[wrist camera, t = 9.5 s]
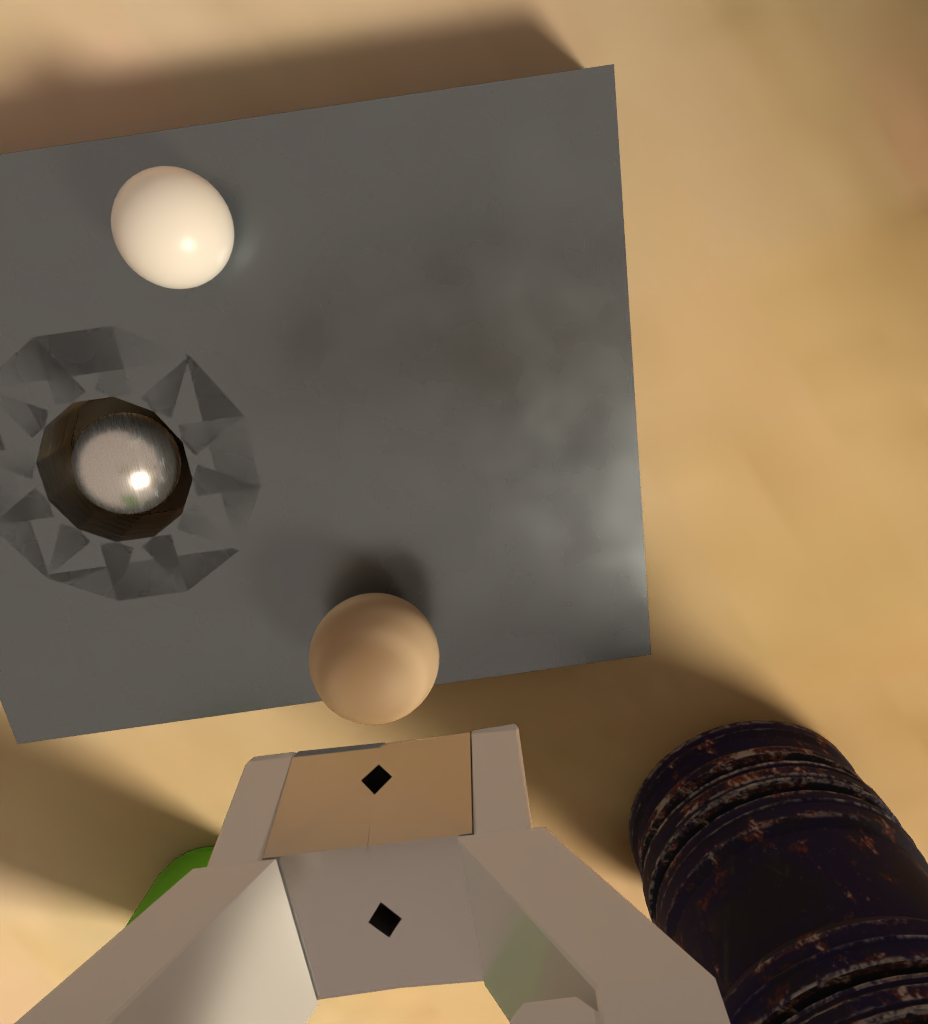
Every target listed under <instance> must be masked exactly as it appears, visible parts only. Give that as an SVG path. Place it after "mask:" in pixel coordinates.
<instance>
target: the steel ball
mask: <svg viewBox="0 0 928 1024" xmlns="http://www.w3.org/2000/svg"><path fill="white" fill-rule="evenodd" d="M71 466H72V473H73V476H74V479H75V482H76V484H77V486H78V487H79V489H80V490H81V492H82V493H83V494H84V495H85V496H86V497H87V498H88V499H89V500H90V501H91V502H92V503H94V504H95V505H97V506H99V507H101V508H103V509H105V510H108V511H111V512H114V513H120V514H135V513H141V512H144V511H148V510H150V509H152V508H155V507H156V506H158V505H159V504H161V503H162V502H163V501H165V500H166V499H167V498H168V497H169V496H170V495H171V493H172V492H173V490H174V489H175V487H176V485H177V483H178V480H179V478H180V473H181V456H180V451H179V448H178V446H177V444H176V442H175V440H174V438H173V437H172V435H171V434H170V433H169V432H168V431H167V429H166V428H164V427H163V426H162V425H161V424H159V423H158V422H157V421H155V420H153V419H151V418H149V417H146V416H144V415H140V414H136V413H128V412H127V413H114V414H110V415H106V416H104V417H101V418H99V419H97V420H96V421H94V422H92V423H91V424H90V425H88V426H87V427H86V428H85V429H84V430H83V432H82V433H81V434H80V435H79V437H78V439H77V441H76V443H75V445H74V448H73V452H72V458H71Z"/></svg>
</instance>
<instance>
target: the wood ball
mask: <svg viewBox="0 0 928 1024" xmlns="http://www.w3.org/2000/svg"><path fill="white" fill-rule="evenodd" d="M438 668H439V647H438V642H437V638H436V635H435V633H434V630H433V628H432V626H431V625H430V623H429V621H428V620H427V619H426V617H425V616H424V615H423V614H422V613H421V612H420V611H419V610H418V609H417V608H416V607H415V606H414V605H412V604H411V603H409V602H408V601H406V600H404V599H402V598H399V597H397V596H393V595H390V594H384V593H366V594H361V595H357V596H354V597H351V598H349V599H347V600H345V601H343V602H341V603H340V604H338V605H337V606H335V607H334V608H333V609H332V610H330V611H329V612H328V614H327V615H326V616H325V617H324V618H323V619H322V621H321V622H320V624H319V625H318V627H317V629H316V631H315V633H314V635H313V638H312V641H311V645H310V651H309V669H310V676H311V679H312V682H313V685H314V687H315V689H316V691H317V693H318V695H319V696H320V698H321V699H322V700H323V701H324V703H325V704H326V705H327V706H328V707H329V708H330V709H331V710H332V711H334V712H335V713H337V714H338V715H339V716H341V717H343V718H345V719H348V720H350V721H353V722H356V723H360V724H367V725H377V724H385V723H390V722H393V721H396V720H398V719H401V718H403V717H404V716H406V715H408V714H409V713H411V712H412V711H413V710H415V709H416V708H417V707H418V706H419V705H420V704H421V703H422V702H423V701H424V699H425V698H426V697H427V695H428V694H429V693H430V691H431V689H432V687H433V685H434V682H435V679H436V677H437V673H438Z"/></svg>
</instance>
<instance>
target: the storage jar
mask: <svg viewBox="0 0 928 1024" xmlns="http://www.w3.org/2000/svg"><path fill="white" fill-rule="evenodd" d="M629 839H630V844H631V848H632V852H633V855H634V858H635V861H636V864H637V866H638V868H639V870H640V874H641V879H642V883H643V892H644V896H645V901H646V905H647V908H648V911H649V914H650V917H651V920H652V922H653V923H654V924H655V925H656V926H657V927H658V928H659V929H660V930H662V931H663V932H664V933H665V934H666V935H667V936H668V937H669V938H671V939H672V940H673V941H674V942H675V943H676V944H677V945H678V946H680V947H681V948H682V949H683V950H684V951H685V952H686V953H687V954H689V955H690V956H691V957H692V958H693V959H694V960H695V961H696V962H698V963H699V964H700V965H701V966H702V967H703V968H704V969H705V970H707V971H708V972H709V973H710V974H711V975H712V976H713V977H714V978H715V979H716V982H717V985H718V988H719V991H720V994H721V997H722V1000H723V1003H724V1006H725V1009H726V1012H727V1015H728V1018H729V1021H730V1023H731V1024H928V864H927V862H926V860H925V858H924V857H923V855H922V854H921V852H920V851H919V850H918V849H917V847H916V845H915V843H914V841H913V840H912V838H911V837H910V836H909V835H908V834H907V832H906V831H905V830H904V829H903V828H902V826H901V824H900V823H899V821H898V819H897V818H896V817H895V816H894V814H893V813H892V812H891V810H890V809H889V808H888V807H887V806H886V804H885V803H884V802H883V800H882V799H881V798H880V797H879V796H878V795H877V794H876V792H875V791H874V790H873V789H872V788H871V787H869V786H868V785H867V784H865V783H864V782H863V780H862V779H861V778H860V777H859V776H858V775H857V774H856V772H855V771H854V769H853V767H852V766H851V764H850V763H849V762H848V761H847V759H846V758H845V757H844V756H843V755H842V754H841V752H840V751H839V750H838V749H837V748H836V747H835V746H834V745H833V744H831V743H830V742H829V741H827V740H826V739H825V738H824V737H822V736H820V735H818V734H816V733H814V732H812V731H810V730H808V729H805V728H802V727H799V726H796V725H793V724H788V723H782V722H776V721H749V722H740V723H734V724H730V725H726V726H722V727H718V728H715V729H713V730H710V731H707V732H705V733H702V734H700V735H698V736H696V737H694V738H692V739H690V740H689V741H687V742H685V743H683V744H682V745H680V746H679V747H678V748H676V749H675V750H673V751H672V752H671V753H669V754H668V755H667V756H666V757H665V758H664V759H663V760H662V761H661V762H660V763H659V764H657V765H656V766H655V768H654V769H653V770H652V771H651V773H650V774H649V775H648V777H647V778H646V779H645V780H644V782H643V784H642V786H641V788H640V789H639V791H638V793H637V795H636V798H635V800H634V803H633V806H632V809H631V815H630V821H629Z"/></svg>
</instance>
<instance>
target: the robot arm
mask: <svg viewBox="0 0 928 1024" xmlns="http://www.w3.org/2000/svg"><path fill="white" fill-rule="evenodd" d="M477 981H484V982H485V986H486V987H487V989H488V990H489V992H490V993H491V995H492V996H493V998H494V999H495V1001H496V1002H497V1004H498V1005H499V1007H500V1008H501V1010H502V1011H503V1013H504V1014H505V1016H506V1017H507V1019H508V1020H509V1022H510V1024H731V1023H730V1021H729V1018H728V1015H727V1012H726V1009H725V1006H724V1003H723V1000H722V997H721V994H720V991H719V988H718V985H717V982H716V979H715V978H714V977H713V976H712V975H711V974H710V973H709V972H708V971H707V970H705V969H704V968H703V967H702V966H701V965H700V964H699V963H698V962H696V961H695V960H694V959H693V958H692V957H691V956H690V955H689V954H687V953H686V952H685V951H684V950H683V949H682V948H681V947H680V946H678V945H677V944H676V943H675V942H674V941H673V940H672V939H671V938H669V937H668V936H667V935H666V934H665V933H664V932H663V931H662V930H660V929H659V928H658V927H657V926H656V925H655V924H654V923H653V922H651V921H650V920H649V919H648V918H647V917H646V916H645V915H644V914H642V913H641V912H640V911H639V910H638V909H637V908H636V907H634V906H633V905H632V904H631V903H630V902H629V901H628V900H627V899H625V898H624V897H623V896H622V895H621V894H620V893H619V892H618V891H616V890H615V889H614V888H613V887H612V886H611V885H610V884H609V883H607V882H606V881H605V880H604V879H603V878H602V877H601V876H600V875H598V874H597V873H596V872H595V871H594V870H593V869H592V868H591V867H589V866H588V865H587V864H586V863H585V862H584V861H583V860H582V859H580V858H579V857H578V856H577V855H576V854H575V853H574V852H573V851H571V850H570V849H569V848H568V847H567V846H566V845H565V844H564V843H562V842H561V841H560V840H559V839H558V838H557V837H556V836H554V835H553V834H552V833H551V832H550V831H549V830H548V829H547V828H545V827H537V828H532V821H531V814H530V806H529V799H528V792H527V785H526V778H525V771H524V764H523V756H522V749H521V742H520V735H519V728H518V727H517V725H516V724H510V725H503V726H497V727H491V728H484V729H478V730H473V731H472V732H467V733H459V734H452V735H445V736H437V737H430V738H422V739H415V740H407V741H400V742H392V743H386V744H385V743H376V744H366V745H357V746H347V747H337V748H327V749H318V750H308V751H299V752H298V753H294V752H290V753H282V754H274V755H266V756H258V757H254V758H252V759H251V760H250V761H249V762H248V763H247V764H246V765H245V768H244V770H243V773H242V776H241V778H240V781H239V783H238V786H237V789H236V791H235V794H234V797H233V799H232V802H231V804H230V807H229V810H228V812H227V815H226V818H225V820H224V823H223V825H222V828H221V831H220V833H219V836H218V839H217V841H216V844H215V846H214V849H213V852H212V854H211V857H210V860H209V862H208V865H207V867H203V868H196V869H192V870H191V871H190V872H189V873H188V874H186V875H185V876H184V877H183V878H182V879H181V880H179V881H178V882H177V883H176V884H175V885H174V886H173V887H171V888H170V889H169V890H168V891H167V892H166V893H164V894H163V895H162V896H161V897H160V898H159V899H158V900H156V901H155V902H154V903H153V904H152V905H151V906H149V907H148V908H147V909H146V910H145V911H144V912H143V913H141V914H140V915H139V916H138V917H137V918H136V919H134V920H133V921H132V922H131V923H130V924H129V925H128V926H126V927H125V928H124V929H123V930H122V931H121V932H119V933H118V934H117V935H116V936H115V937H114V938H113V939H111V940H110V941H109V942H108V943H107V944H106V945H104V946H103V947H102V948H101V949H100V950H99V951H98V952H96V953H95V954H94V955H93V956H92V957H91V958H89V959H88V960H87V961H86V962H85V963H84V964H83V965H81V966H80V967H79V968H78V969H77V970H76V971H74V972H73V973H72V974H71V975H70V976H69V977H68V978H66V979H65V980H64V981H63V982H62V983H61V984H59V985H58V986H57V987H56V988H55V989H54V990H53V991H51V992H50V993H49V994H48V995H47V996H46V997H44V998H43V999H42V1000H41V1001H40V1002H39V1003H37V1004H36V1005H35V1006H34V1007H33V1008H32V1009H31V1010H29V1011H28V1012H27V1013H26V1014H25V1015H24V1016H22V1017H21V1018H20V1019H19V1020H18V1021H17V1022H16V1023H14V1024H306V1022H307V1021H308V1019H309V1018H310V1016H311V1015H312V1013H313V1012H314V1011H315V1009H316V1008H317V1006H318V1002H317V1000H319V999H326V998H333V997H340V996H347V995H354V994H361V993H367V992H374V991H381V990H388V989H395V988H404V987H416V986H428V985H441V984H453V983H465V982H477Z"/></svg>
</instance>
